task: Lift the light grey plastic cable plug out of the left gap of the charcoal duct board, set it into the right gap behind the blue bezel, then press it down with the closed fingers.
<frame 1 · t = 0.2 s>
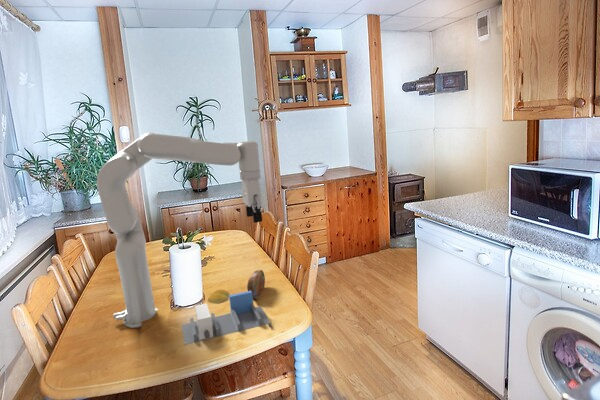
hand: (254, 219, 150), 31 cm above the table, tool pointing down, fingers open, 9 cm apart
brown flat oval slab: (257, 294, 157), on the table
duct board: (226, 327, 133), on the table
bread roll: (219, 301, 153), on the table
cable plug: (205, 330, 130), point 1 cm above the table, touching duct board
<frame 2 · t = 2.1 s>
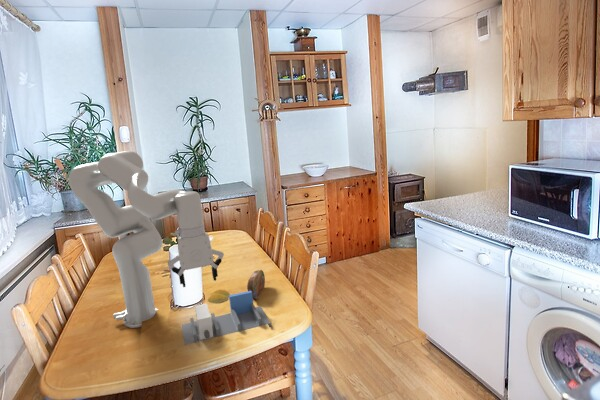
hand: (199, 282, 126), 19 cm above the table, tool pointing down, fingers open, 9 cm apart
nothing on the table moved.
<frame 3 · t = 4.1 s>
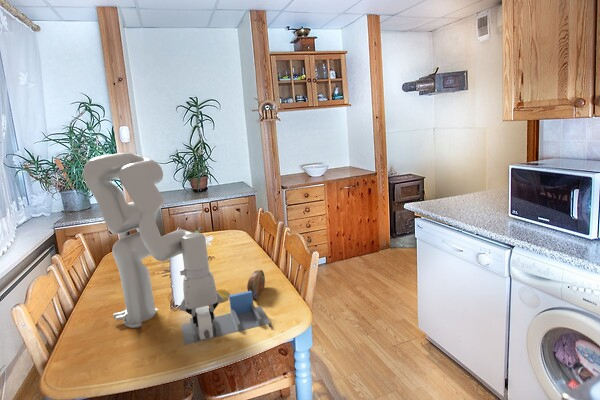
hand: (204, 322, 129), 4 cm above the table, tool pointing down, fingers closed on cable plug, 4 cm apart
cable plug: (205, 330, 130), point 2 cm above the table, touching duct board, gripper
everything else where it was.
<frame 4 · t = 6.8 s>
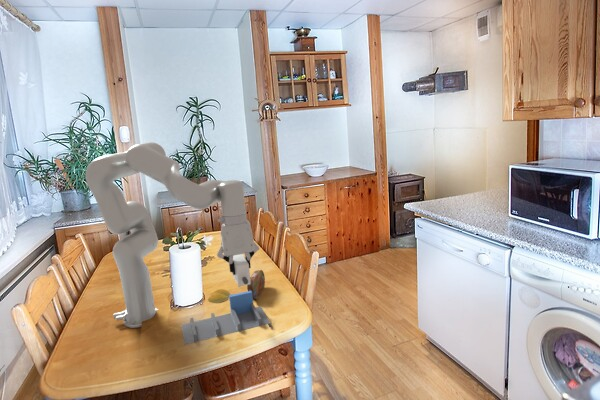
hand: (240, 271, 130), 20 cm above the table, tool pointing down, fingers closed on cable plug, 4 cm apart
cable plug: (241, 279, 131), point 17 cm above the table, touching gripper
everything else where it was.
when the fingers open (5 cm above the table, at t = 9.8 s): cable plug drops 1 cm, resting on duct board.
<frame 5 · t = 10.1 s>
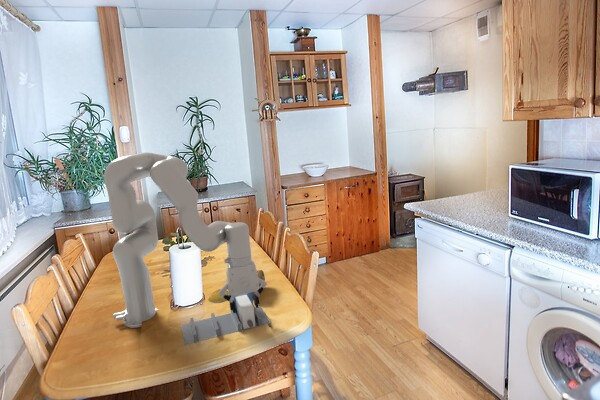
hand: (245, 308, 133), 6 cm above the table, tool pointing down, fingers open, 7 cm apart
cable plug: (246, 320, 134), point 1 cm above the table, touching duct board
everything else where it was.
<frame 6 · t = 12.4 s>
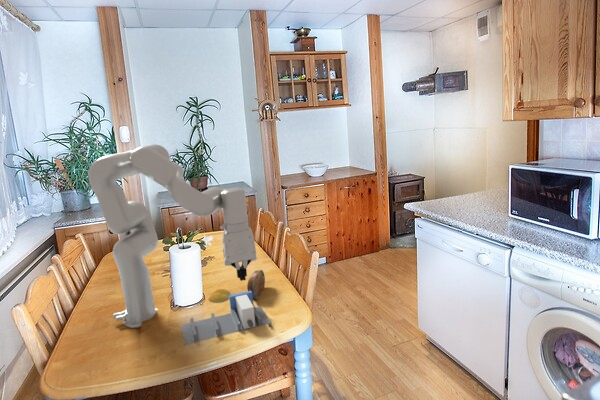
hand: (242, 278, 131), 17 cm above the table, tool pointing down, fingers closed
nothing on the table moved.
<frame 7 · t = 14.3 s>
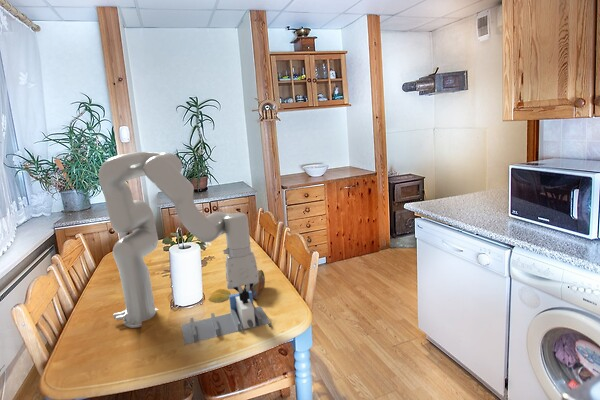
hand: (244, 301, 133), 9 cm above the table, tool pointing down, fingers closed
cable plug: (246, 320, 134), point 2 cm above the table, touching duct board, gripper
everything else where it was.
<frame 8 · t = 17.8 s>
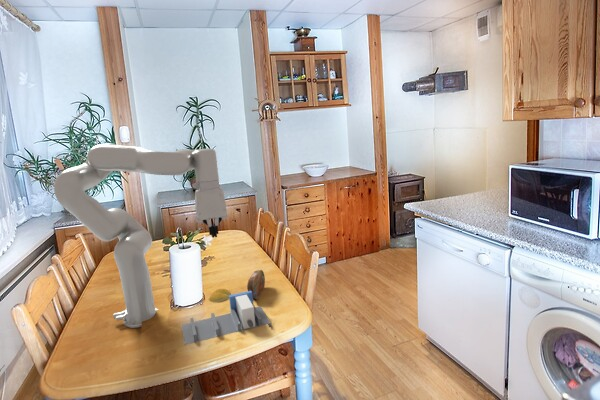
hand: (214, 236, 138), 29 cm above the table, tool pointing down, fingers closed
cable plug: (246, 320, 134), point 1 cm above the table, touching duct board
everything else where it was.
at the end: cable plug 0.1 cm from the target spot on the duct board, point 1.5 cm above the duct board's base; cable plug tilted 0°; the gripper is holding nothing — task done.
